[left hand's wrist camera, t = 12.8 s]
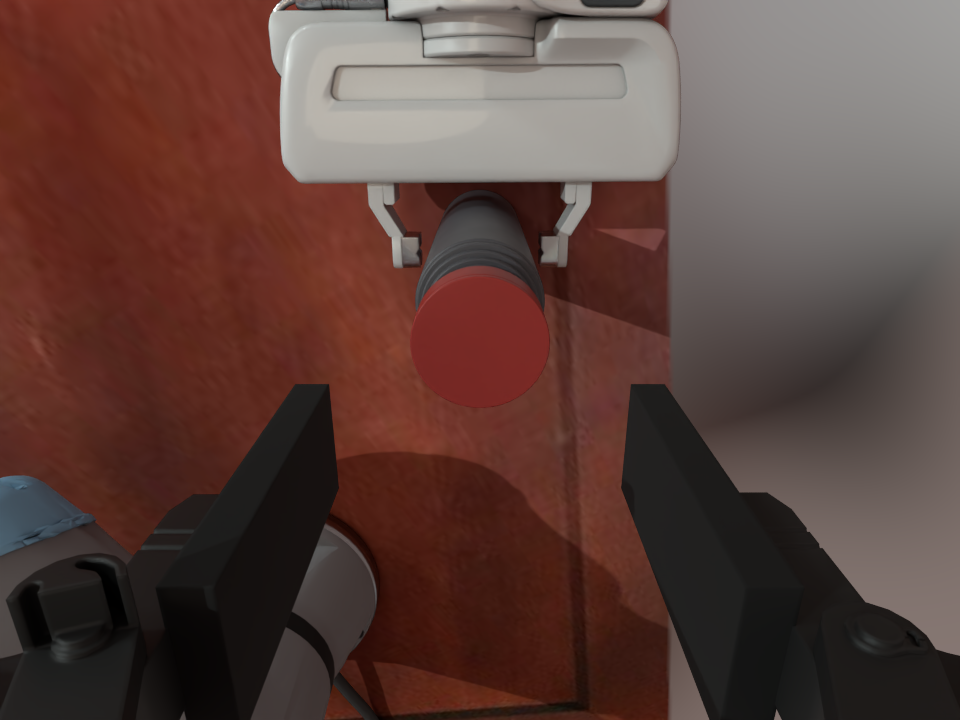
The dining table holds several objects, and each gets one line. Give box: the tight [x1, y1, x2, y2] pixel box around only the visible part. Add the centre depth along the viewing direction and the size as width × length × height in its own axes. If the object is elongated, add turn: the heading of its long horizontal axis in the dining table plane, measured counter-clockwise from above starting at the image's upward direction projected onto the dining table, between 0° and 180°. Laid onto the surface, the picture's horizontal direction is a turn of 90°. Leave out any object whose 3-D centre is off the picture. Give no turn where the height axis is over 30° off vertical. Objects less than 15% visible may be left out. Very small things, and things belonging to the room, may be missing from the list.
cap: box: [410, 266, 550, 408], centre depth 21 cm, size 5×5×2 cm
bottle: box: [415, 190, 545, 312], centre depth 31 cm, size 5×5×22 cm
